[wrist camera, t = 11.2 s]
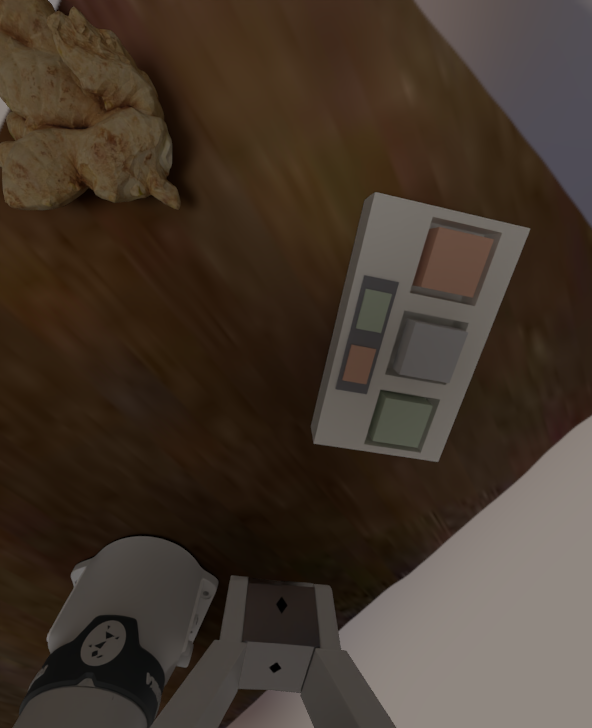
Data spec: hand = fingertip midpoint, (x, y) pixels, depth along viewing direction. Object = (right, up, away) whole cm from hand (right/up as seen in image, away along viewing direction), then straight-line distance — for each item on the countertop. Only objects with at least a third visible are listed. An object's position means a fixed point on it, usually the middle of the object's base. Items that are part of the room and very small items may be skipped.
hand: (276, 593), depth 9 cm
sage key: (+11, +1, +25) cm, 27 cm away
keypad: (+11, +10, +24) cm, 28 cm away
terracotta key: (+15, +16, +20) cm, 29 cm away
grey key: (+13, +8, +21) cm, 26 cm away
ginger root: (-16, +26, +17) cm, 35 cm away
